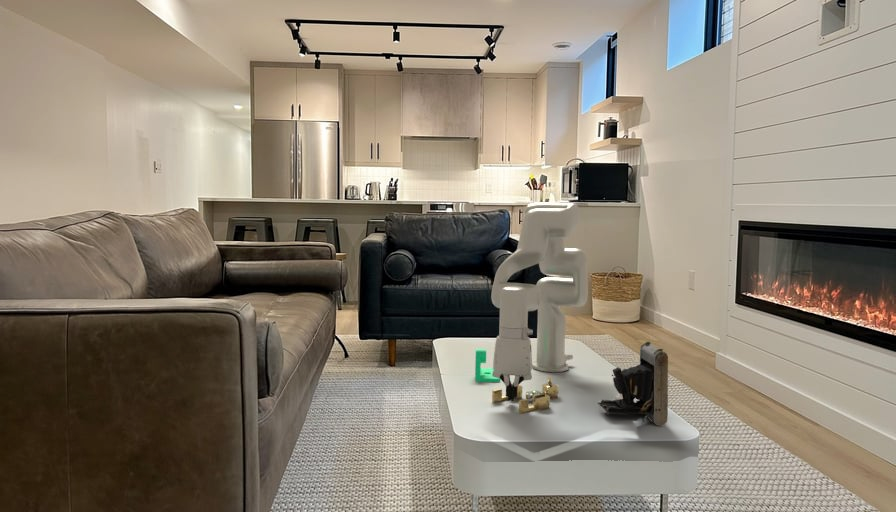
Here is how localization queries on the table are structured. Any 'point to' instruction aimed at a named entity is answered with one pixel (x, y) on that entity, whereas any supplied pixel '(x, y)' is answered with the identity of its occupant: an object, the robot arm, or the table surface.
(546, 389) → the foot screw
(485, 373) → the camera mount
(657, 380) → the vintage camera
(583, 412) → the table surface
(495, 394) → the foot screw
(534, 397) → the foot screw
